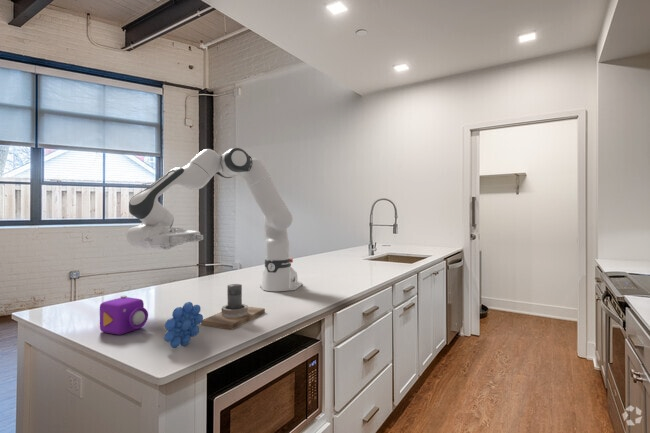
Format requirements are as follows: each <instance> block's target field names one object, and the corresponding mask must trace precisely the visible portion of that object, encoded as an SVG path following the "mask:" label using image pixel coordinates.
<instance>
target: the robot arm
mask: <svg viewBox="0 0 650 433" xmlns="http://www.w3.org/2000/svg"><path fill="white" fill-rule="evenodd" d="M215 175H218V176H220V177H221V178H225V179H232V178H234V177H236V176H239V175H240V177H242V178H243V179H244V180H245V182H246V184H247V187H248V188H249V190H250V192H251V194H252V197H253V198H254V199H253V200H254V201H255V202H256V204H257V206H258V207H259V208H260V210H261V212H262V213H263V229H264V240H265V259H264V269H263V270H262V280H261V284H259V287H260V289H262V290H263V291H266V292H285V291H296V290H297V289H298V288H300V287H301V286H302V285H303V282H302V281H299V280H298V273H297V271H296V270H294V268H293V267H292V263H293V262H294V259H293V258H290V241H289V240H290V239H289V236H288V228H289V227H291V225H292V222H293V215H292V213H291V211H290V210H289V208H288V206H287V205H286V202H285V201H284V200H283V198H282V196H281V195H280V194H279V192H278V190H277V188H276V186H275V184H274V182H273V180H272V178H271V176H270V173H269V171H268V170H267V169H266V167H265V165H264V164H263V162H262V161H261V160H260V159H259V158H256V157H253V158H252V156H250V154H248V153H247V151H246V150H244V149H242V148H239V147H233V148H230V149H228V150H226V151H225V152H224V153H223V154H219V153H217V152H216V151H215V150H213V149H211V148H205V149H202V150H201V151H200V152H199V153H198V154H196V155H195V156H194V157H193V158H192V159H191V160H190V161H189V162H188V163H187V164H186V165H184V166H182V167H180V166H177V167H174V168H172V169H170V170H169V171H167V172H166V173H164V174H163V175H162V176H161V177H159V178H158V179H156V180H155V181H154V182H152V183H151V184H150V185H148V187H146V188H145V189H144V190H142V191H140V192H138V193H137V194H135V195H134V196H132V197H131V198H130V200H129V201H128V211H129V213H130V215H132V216H133V217H135V219H138V220H139V221H140V222H141V223H140V224H138V225H136V226H132V227H130V228H129V229H128V230H127V232H126V240H127V242H128V243H129V244H130V246H132V247H135V248H138V249H147V250H148V249H153V250H166V251H167V250H169V249H171V248H174V247H177V246H181V245H183V244H187V243H195V242H200V241H203V240H204V234H201V232H200V231H197V230H191V229H184V227H183V228H182V227H174V226H173V225H174V219H175V218H174V215H173V214H172V213H171V211H169V210H168V209H167V208H166V207H165V206H163V204H162V203H160V201H159V200H158V199H159V197H160V196H161V195H163V194H164V193H165V192H167V191H168V190H170V188H172V187H173V186H175V185H180V186H182V187H184V188H186V189H189V190H200V189H203V188H205V186H206V185H207V184H208V183H209V182H210V180H211V179H212V178H213V177H214V176H215Z"/></svg>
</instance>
